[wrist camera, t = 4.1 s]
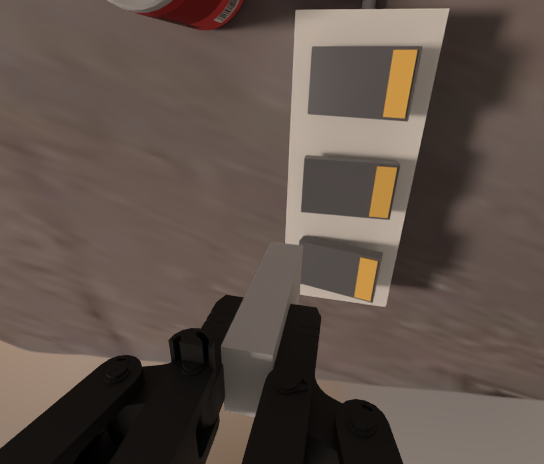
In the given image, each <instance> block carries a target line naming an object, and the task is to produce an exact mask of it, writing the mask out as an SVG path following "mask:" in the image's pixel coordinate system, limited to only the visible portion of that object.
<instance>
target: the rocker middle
mask: <svg viewBox="0 0 544 464" xmlns="http://www.w3.org/2000/svg"><path fill="white" fill-rule="evenodd" d="M399 169H400V163H399V162H398V161H392V160H377V159H361V158H345V157H329V156H313V155H306V156H305V158H304V171H303V186H302V202H301V212H305V213H316V214H327V215H339V216H350V217H361V218H372V219H383V220H390V216H391V210H392V205H393V200H394V195H395V190H396V185H397V179H398V174H399Z"/></svg>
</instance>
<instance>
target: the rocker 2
mask: <svg viewBox="0 0 544 464" xmlns="http://www.w3.org/2000/svg"><path fill="white" fill-rule="evenodd" d="M299 245H303V255H302V269H301V283H300V284H304V285H307V286H311V287H315V288H319V289H322V290H326V291H330V292H333V293H337V294H341V295H345V296H348V297H352V298H356V299H360V300H363V301H367V302H371V303H373V300H374V296H375V292H376V286H377V281H378V276H379V271H380V266H381V260H382V255H383V252H379V251H374V250H369V249H365V248H360V247H355V246H350V245H346V244H341V243H336V242H332V241H327V240H322V239H318V238H313V237H308V236H303V237H302V238H301V239H300V241H299Z"/></svg>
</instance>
